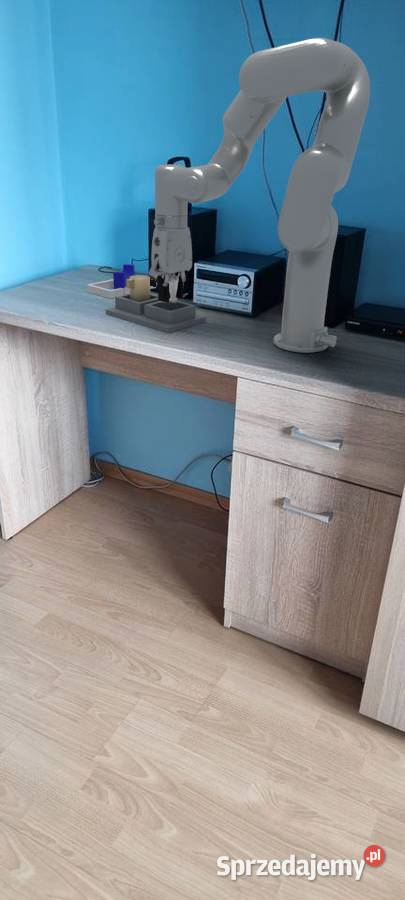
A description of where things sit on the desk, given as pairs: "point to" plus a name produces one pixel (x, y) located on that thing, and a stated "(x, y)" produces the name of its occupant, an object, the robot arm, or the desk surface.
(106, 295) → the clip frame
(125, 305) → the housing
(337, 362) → the desk surface
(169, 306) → the milkshake
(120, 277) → the blue stepped block
